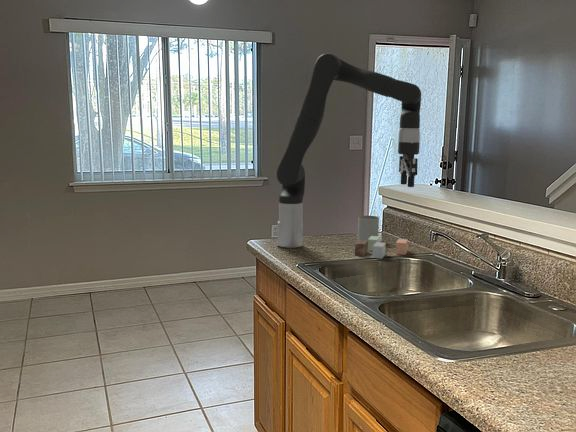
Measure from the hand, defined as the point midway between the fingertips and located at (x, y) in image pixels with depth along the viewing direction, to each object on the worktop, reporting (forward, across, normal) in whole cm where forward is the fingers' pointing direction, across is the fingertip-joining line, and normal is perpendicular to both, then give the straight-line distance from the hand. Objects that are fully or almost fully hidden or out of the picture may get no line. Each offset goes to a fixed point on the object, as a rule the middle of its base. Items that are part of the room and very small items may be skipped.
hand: (407, 185), depth 204 cm
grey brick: (+26, +3, -10) cm, 28 cm away
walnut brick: (+26, -2, -16) cm, 30 cm away
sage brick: (+26, -9, -9) cm, 29 cm away
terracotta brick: (+26, -2, 0) cm, 26 cm away
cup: (+26, -24, -8) cm, 36 cm away
